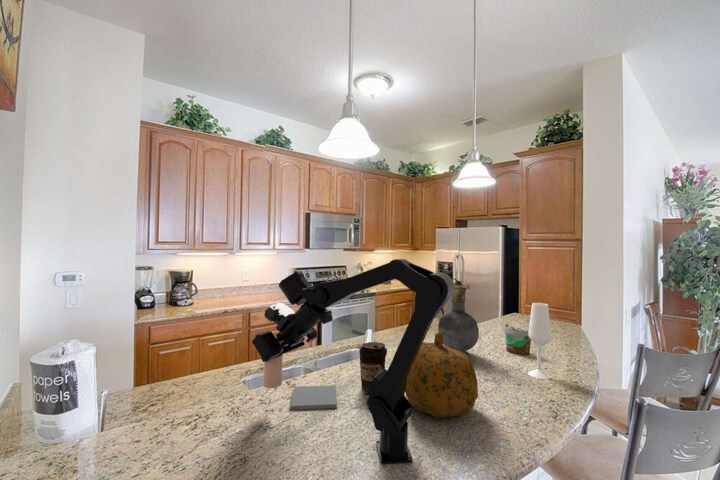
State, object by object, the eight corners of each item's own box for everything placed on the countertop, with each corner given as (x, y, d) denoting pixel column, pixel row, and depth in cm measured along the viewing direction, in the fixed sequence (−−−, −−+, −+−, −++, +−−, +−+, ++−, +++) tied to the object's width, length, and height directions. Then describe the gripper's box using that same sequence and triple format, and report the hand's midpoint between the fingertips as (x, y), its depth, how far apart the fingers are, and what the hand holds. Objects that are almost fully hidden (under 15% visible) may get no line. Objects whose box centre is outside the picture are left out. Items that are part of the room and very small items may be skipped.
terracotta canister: (280, 388, 78) (281, 347, 78) (261, 388, 78) (261, 348, 78) (283, 379, 83) (284, 341, 83) (264, 380, 82) (265, 342, 83)
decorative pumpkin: (398, 423, 74) (403, 337, 76) (399, 390, 95) (403, 323, 97) (487, 436, 71) (491, 346, 73) (468, 399, 92) (471, 329, 94)
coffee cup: (384, 396, 89) (385, 350, 89) (355, 393, 91) (356, 348, 91) (387, 383, 97) (388, 341, 98) (361, 380, 99) (362, 339, 99)
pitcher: (461, 362, 116) (462, 281, 116) (428, 346, 133) (430, 276, 134) (482, 358, 121) (484, 280, 121) (448, 343, 138) (449, 275, 138)
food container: (496, 348, 133) (496, 324, 133) (506, 346, 136) (506, 323, 136) (522, 358, 122) (522, 332, 122) (532, 356, 125) (533, 331, 125)
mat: (336, 408, 82) (336, 404, 82) (290, 409, 81) (290, 405, 81) (335, 388, 93) (335, 385, 93) (294, 389, 92) (294, 386, 92)
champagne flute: (530, 377, 104) (531, 305, 105) (525, 369, 111) (526, 301, 111) (553, 380, 102) (554, 306, 103) (547, 372, 109) (548, 303, 109)
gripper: (309, 289, 87) (277, 324, 92) (259, 299, 71) (224, 341, 75) (332, 321, 83) (298, 356, 88) (285, 340, 67) (247, 381, 72)
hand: (269, 357), depth 81 cm, fingers closed on terracotta canister, 4 cm apart
